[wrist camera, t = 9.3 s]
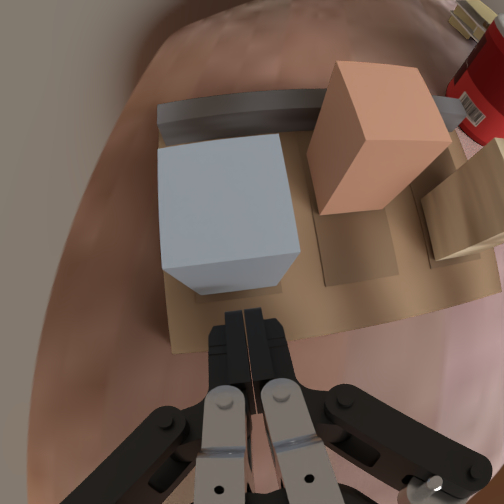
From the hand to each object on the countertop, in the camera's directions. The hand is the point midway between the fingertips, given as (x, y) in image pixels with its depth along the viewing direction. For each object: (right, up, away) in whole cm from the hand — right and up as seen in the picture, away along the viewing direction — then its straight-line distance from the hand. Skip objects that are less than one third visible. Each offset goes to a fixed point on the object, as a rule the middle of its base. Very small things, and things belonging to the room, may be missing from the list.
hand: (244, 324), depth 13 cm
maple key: (+13, +5, +5) cm, 15 cm away
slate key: (-1, +3, +4) cm, 5 cm away
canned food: (+22, +16, +10) cm, 29 cm away
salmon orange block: (+6, +7, +5) cm, 11 cm away
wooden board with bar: (+6, +6, +7) cm, 11 cm away
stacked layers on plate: (+28, +31, +14) cm, 44 cm away
